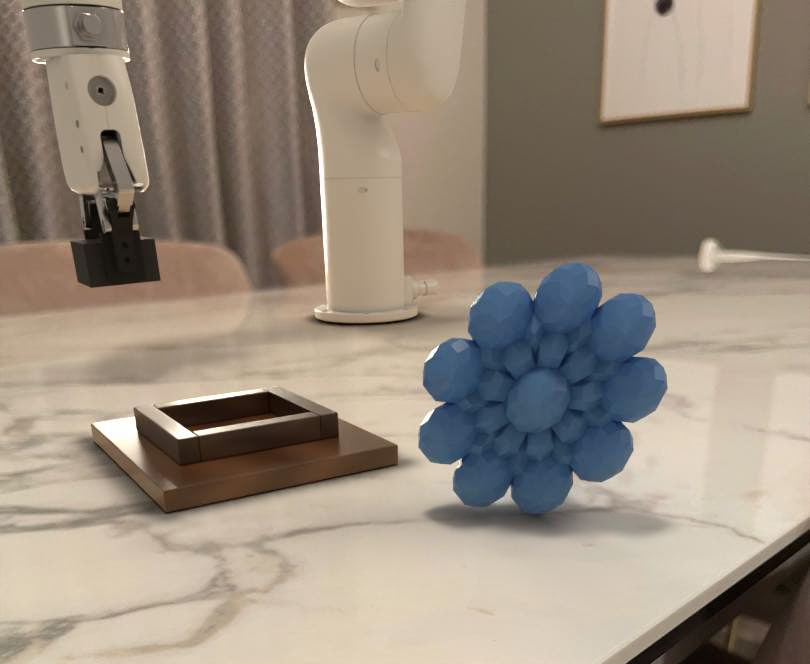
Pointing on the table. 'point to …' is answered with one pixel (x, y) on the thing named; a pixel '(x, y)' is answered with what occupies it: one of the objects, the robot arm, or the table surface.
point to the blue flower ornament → (541, 390)
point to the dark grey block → (93, 266)
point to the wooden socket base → (236, 446)
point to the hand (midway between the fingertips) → (118, 276)
